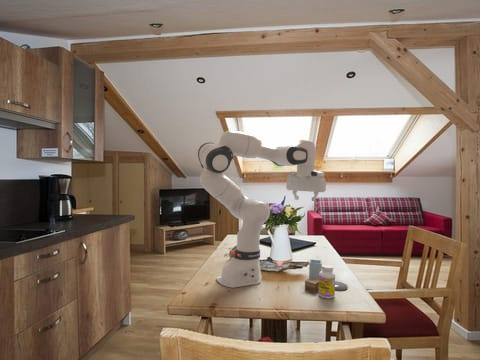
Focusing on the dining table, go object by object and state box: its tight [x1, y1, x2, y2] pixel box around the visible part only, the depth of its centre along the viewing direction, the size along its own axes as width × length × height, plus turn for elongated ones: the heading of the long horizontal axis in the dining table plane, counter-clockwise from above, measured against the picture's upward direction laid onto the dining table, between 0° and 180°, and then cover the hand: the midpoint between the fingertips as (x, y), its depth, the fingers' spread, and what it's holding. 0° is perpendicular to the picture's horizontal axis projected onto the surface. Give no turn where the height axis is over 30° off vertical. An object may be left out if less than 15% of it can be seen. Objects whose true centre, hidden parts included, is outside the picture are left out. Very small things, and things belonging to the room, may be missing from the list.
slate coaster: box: [335, 280, 349, 292], centre depth 140 cm, size 10×10×1 cm
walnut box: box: [304, 278, 319, 293], centre depth 136 cm, size 5×5×4 cm
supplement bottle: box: [318, 264, 336, 300], centre depth 129 cm, size 7×7×13 cm
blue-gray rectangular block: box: [308, 259, 323, 280], centre depth 145 cm, size 6×6×10 cm
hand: (304, 200), depth 151 cm, fingers open, 8 cm apart
